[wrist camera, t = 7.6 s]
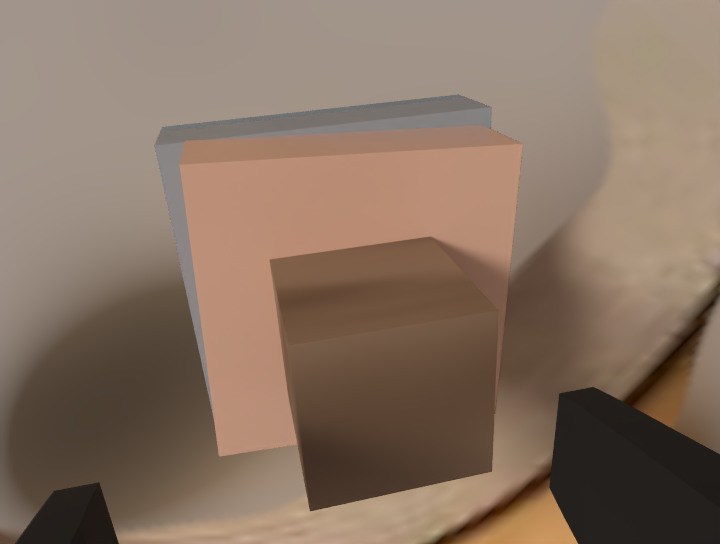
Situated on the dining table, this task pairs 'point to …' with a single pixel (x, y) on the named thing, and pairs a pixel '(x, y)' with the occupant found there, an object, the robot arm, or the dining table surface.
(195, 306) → the slate slab
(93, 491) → the robot arm
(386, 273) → the walnut cube
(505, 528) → the dining table surface
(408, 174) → the terracotta tile
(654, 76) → the dining table surface
